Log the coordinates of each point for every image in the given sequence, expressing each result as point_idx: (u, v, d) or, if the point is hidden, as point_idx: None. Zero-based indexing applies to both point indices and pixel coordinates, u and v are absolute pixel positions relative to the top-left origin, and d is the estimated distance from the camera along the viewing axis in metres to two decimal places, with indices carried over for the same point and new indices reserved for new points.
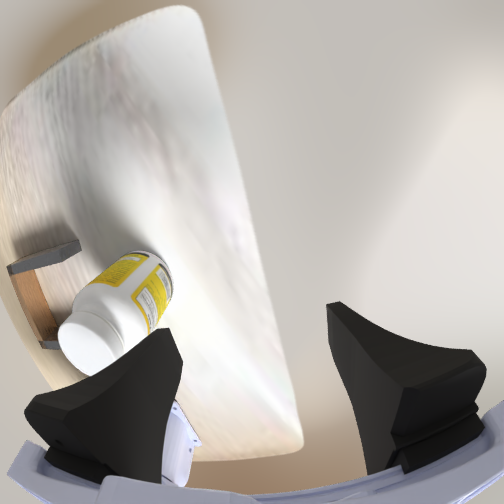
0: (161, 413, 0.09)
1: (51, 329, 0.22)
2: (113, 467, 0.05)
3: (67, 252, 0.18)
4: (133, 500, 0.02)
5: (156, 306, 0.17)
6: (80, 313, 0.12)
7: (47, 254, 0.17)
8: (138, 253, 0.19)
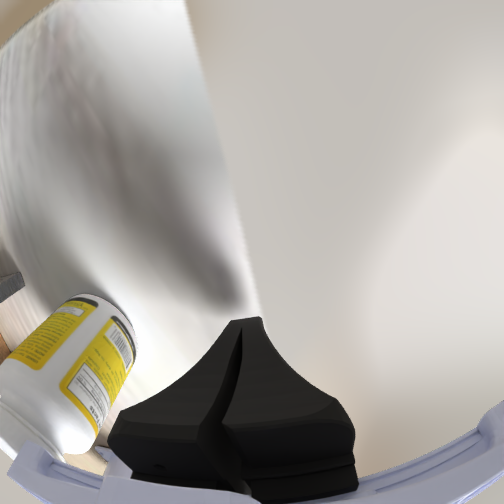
0: None
1: None
2: (229, 481, 0.05)
3: (4, 292, 0.11)
4: (133, 500, 0.02)
5: (105, 387, 0.09)
6: None
7: None
8: (84, 299, 0.12)
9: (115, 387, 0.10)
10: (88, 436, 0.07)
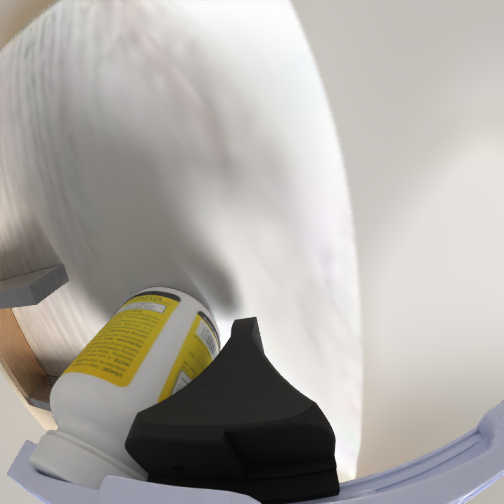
0: None
1: (38, 380, 0.14)
2: None
3: (44, 288, 0.10)
4: (133, 500, 0.02)
5: None
6: (60, 446, 0.04)
7: (15, 290, 0.09)
8: (161, 293, 0.11)
9: None
10: None
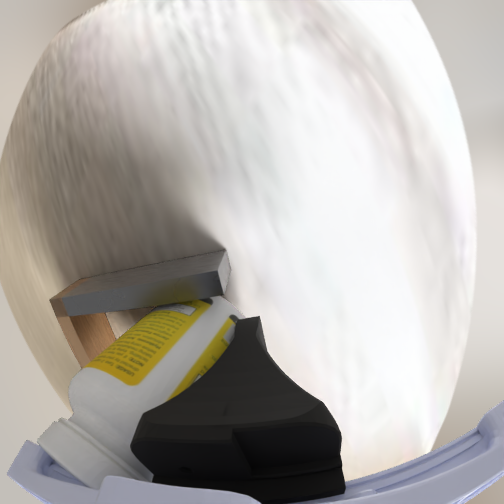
0: None
1: None
2: None
3: (224, 275, 0.11)
4: (133, 500, 0.02)
5: None
6: (63, 432, 0.05)
7: (179, 279, 0.10)
8: None
9: None
10: None
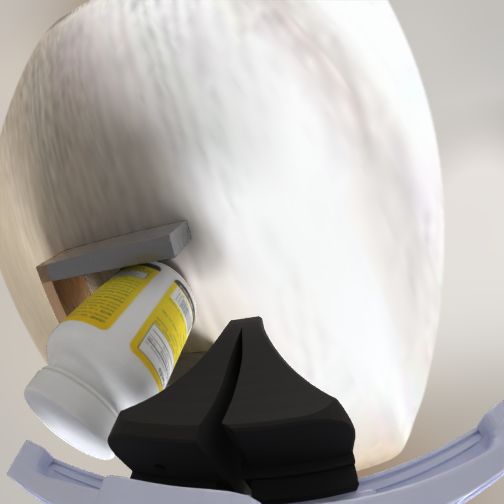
0: None
1: None
2: (229, 481, 0.05)
3: (178, 240, 0.12)
4: (133, 500, 0.02)
5: (172, 349, 0.11)
6: (50, 375, 0.06)
7: (138, 243, 0.11)
8: (145, 263, 0.13)
9: (178, 351, 0.12)
10: None
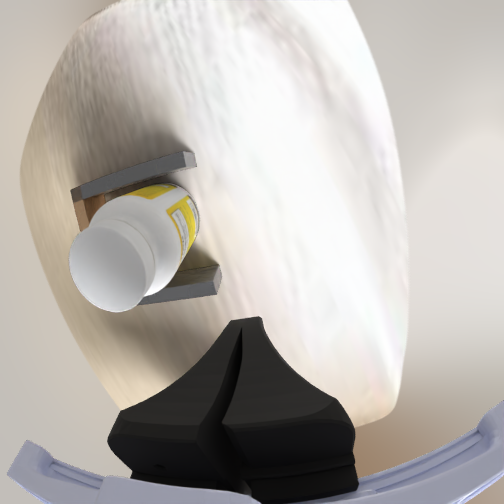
0: None
1: None
2: (229, 481, 0.05)
3: (188, 160, 0.16)
4: (133, 500, 0.02)
5: (188, 232, 0.15)
6: (105, 220, 0.10)
7: (159, 159, 0.15)
8: (165, 183, 0.17)
9: (190, 240, 0.16)
10: (178, 259, 0.13)
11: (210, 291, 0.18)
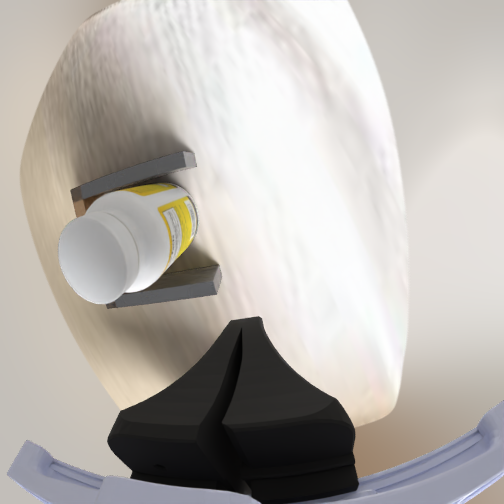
0: None
1: None
2: (229, 481, 0.05)
3: (188, 160, 0.16)
4: (133, 500, 0.02)
5: (182, 232, 0.15)
6: (94, 212, 0.10)
7: (159, 159, 0.15)
8: (166, 183, 0.18)
9: (184, 240, 0.16)
10: (165, 257, 0.13)
11: (210, 291, 0.18)
